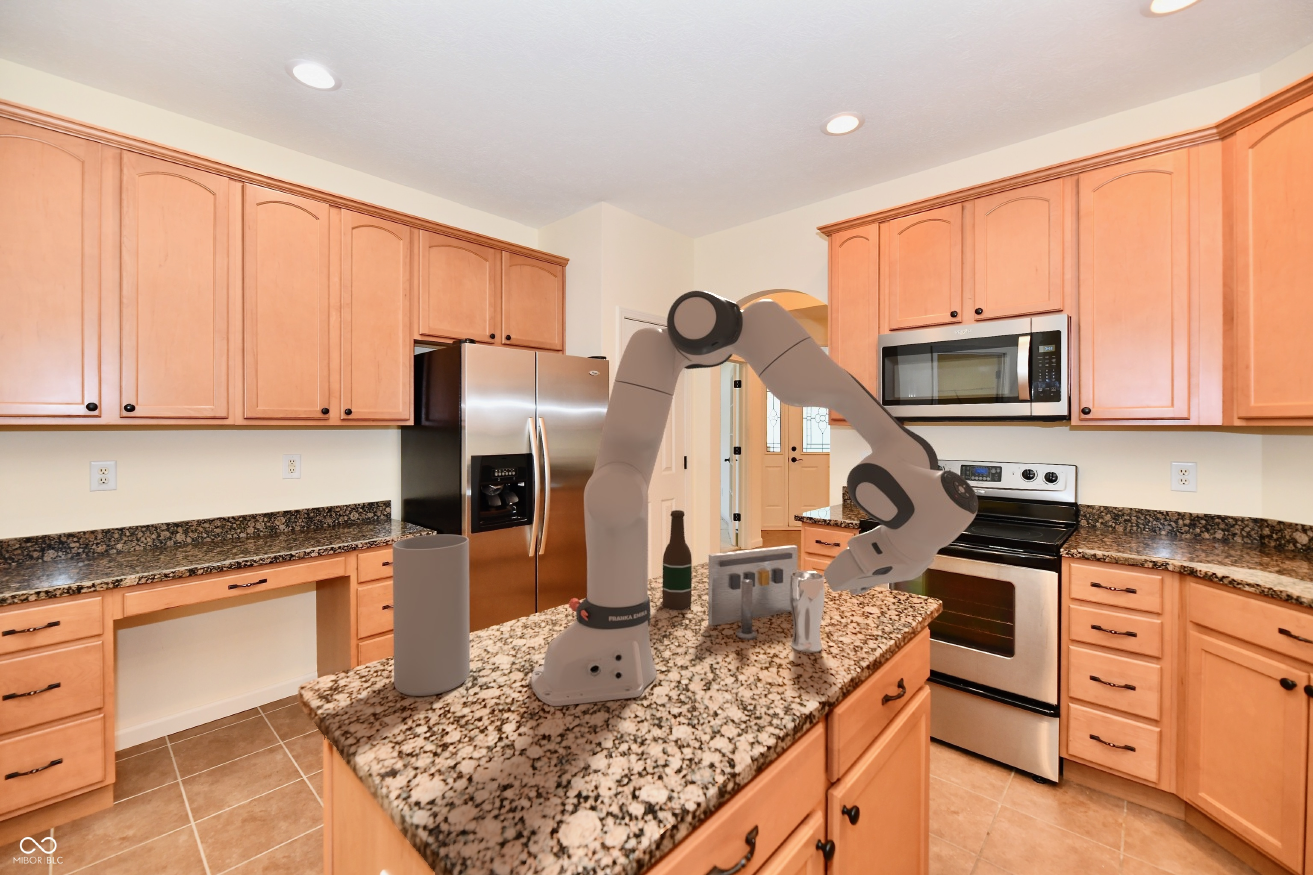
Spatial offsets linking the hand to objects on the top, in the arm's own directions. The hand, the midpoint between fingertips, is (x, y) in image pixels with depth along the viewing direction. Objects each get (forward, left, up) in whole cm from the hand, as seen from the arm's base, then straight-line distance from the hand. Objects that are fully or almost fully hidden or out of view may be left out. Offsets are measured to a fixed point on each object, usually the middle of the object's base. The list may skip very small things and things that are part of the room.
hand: (855, 590), depth 101 cm
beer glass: (0, +13, -16) cm, 21 cm away
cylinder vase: (-71, +28, -16) cm, 78 cm away
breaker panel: (0, +32, -15) cm, 36 cm away
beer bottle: (-13, +47, -16) cm, 52 cm away
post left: (-8, +23, -15) cm, 29 cm away
